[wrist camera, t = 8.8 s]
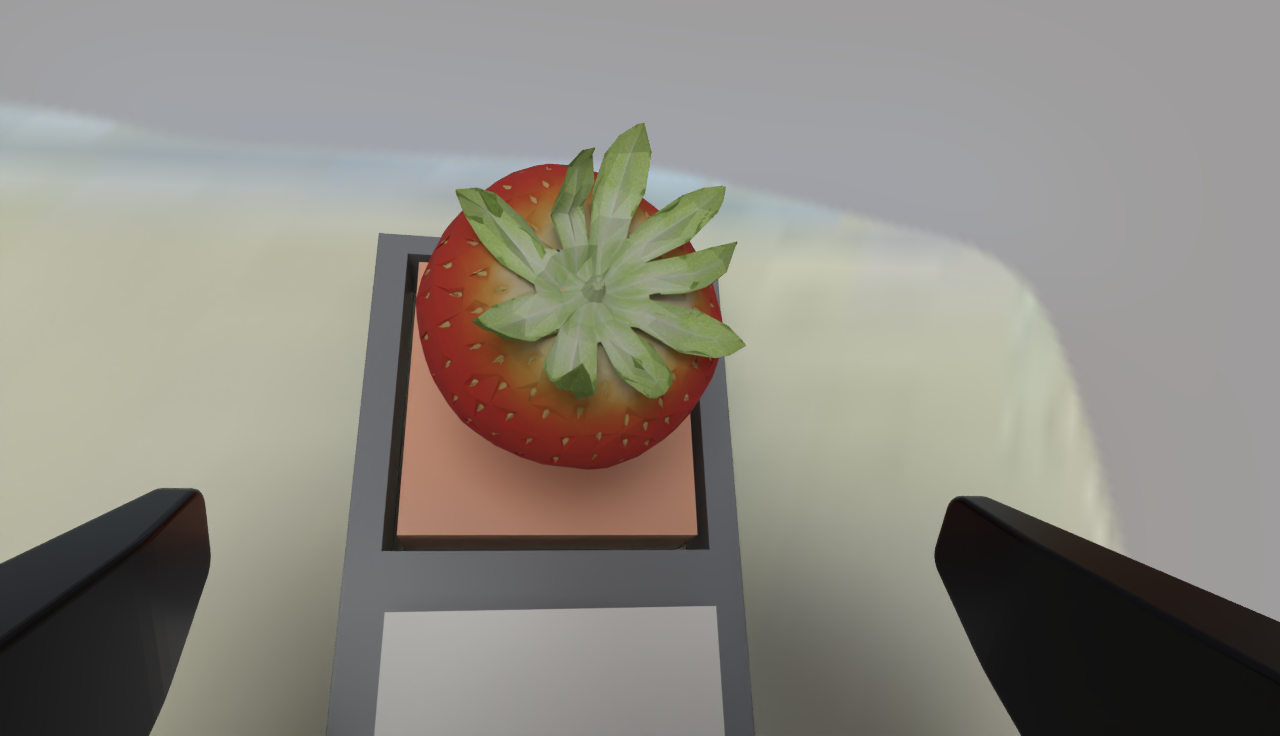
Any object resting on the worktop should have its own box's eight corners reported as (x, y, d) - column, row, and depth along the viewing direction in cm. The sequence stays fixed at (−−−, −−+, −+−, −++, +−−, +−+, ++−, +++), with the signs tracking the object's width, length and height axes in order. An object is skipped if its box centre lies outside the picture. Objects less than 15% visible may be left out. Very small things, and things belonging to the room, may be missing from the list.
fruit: (516, 566, 16) (549, 470, 9) (386, 362, 17) (319, 128, 10) (704, 439, 18) (859, 274, 11) (575, 263, 19) (637, 4, 12)
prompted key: (676, 549, 19) (697, 534, 17) (404, 550, 18) (396, 534, 16) (664, 313, 21) (681, 279, 19) (424, 299, 20) (419, 262, 18)
